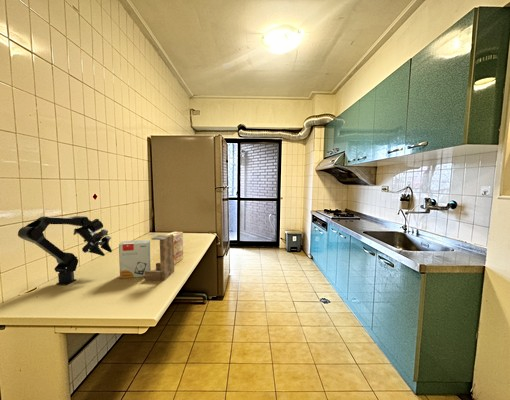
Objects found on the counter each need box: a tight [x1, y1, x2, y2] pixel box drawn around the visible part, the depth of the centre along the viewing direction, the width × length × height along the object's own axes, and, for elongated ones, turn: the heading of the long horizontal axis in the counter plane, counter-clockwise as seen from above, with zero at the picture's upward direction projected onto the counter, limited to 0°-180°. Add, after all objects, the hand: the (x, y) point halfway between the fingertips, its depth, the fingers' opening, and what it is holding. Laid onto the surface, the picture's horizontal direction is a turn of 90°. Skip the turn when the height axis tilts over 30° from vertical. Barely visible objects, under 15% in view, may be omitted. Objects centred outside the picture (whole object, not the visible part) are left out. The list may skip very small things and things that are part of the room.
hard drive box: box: [118, 239, 152, 279], centre depth 141 cm, size 16×8×20 cm, turn 105°
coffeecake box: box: [166, 231, 184, 265], centre depth 165 cm, size 15×7×20 cm, turn 168°
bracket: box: [144, 234, 175, 282], centre depth 140 cm, size 14×11×23 cm
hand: (108, 253), depth 142 cm, fingers open, 7 cm apart
